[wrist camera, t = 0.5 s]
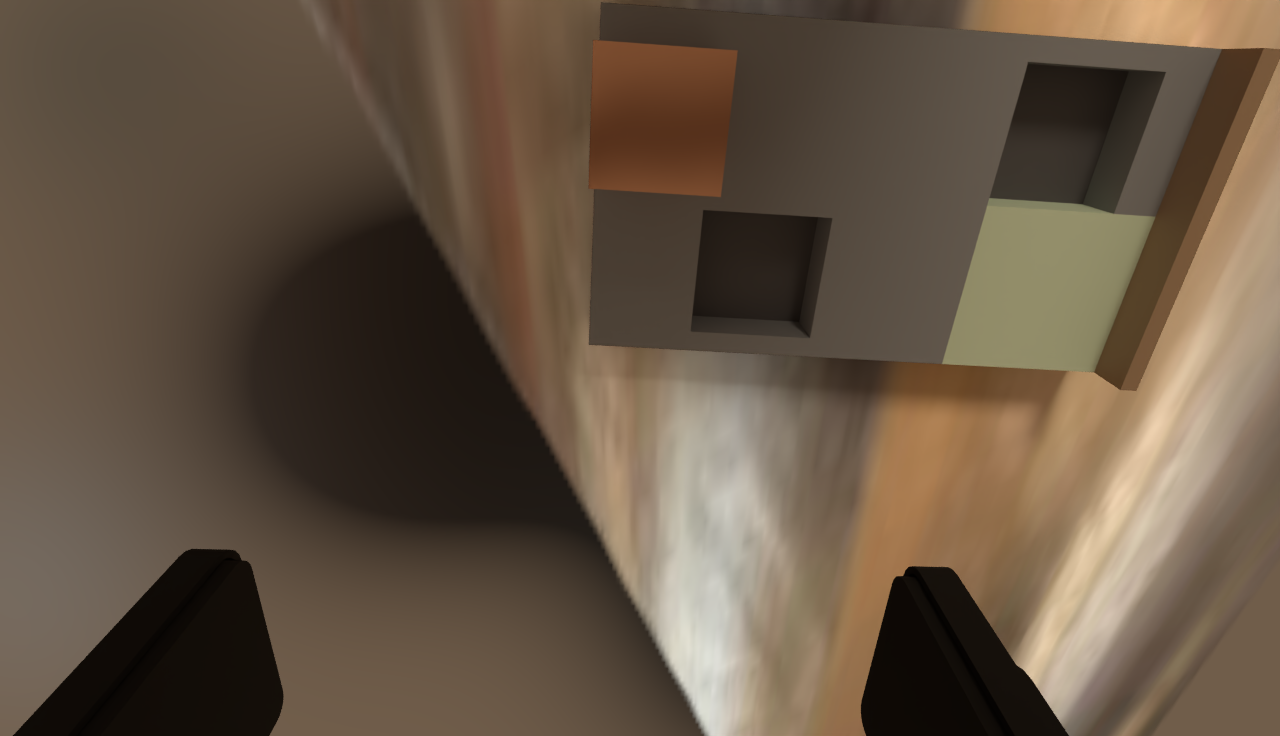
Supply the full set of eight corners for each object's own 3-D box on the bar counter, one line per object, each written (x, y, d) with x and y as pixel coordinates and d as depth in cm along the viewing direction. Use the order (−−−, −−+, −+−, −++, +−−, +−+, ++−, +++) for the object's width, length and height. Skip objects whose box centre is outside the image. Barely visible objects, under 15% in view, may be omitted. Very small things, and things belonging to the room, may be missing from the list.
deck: (603, 7, 29) (598, -3, 25) (1193, 51, 30) (1283, 49, 26) (591, 326, 35) (586, 361, 31) (1079, 353, 36) (1136, 390, 32)
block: (599, 43, 27) (593, 40, 22) (719, 52, 27) (737, 50, 23) (595, 169, 29) (588, 188, 25) (706, 176, 29) (720, 197, 25)
